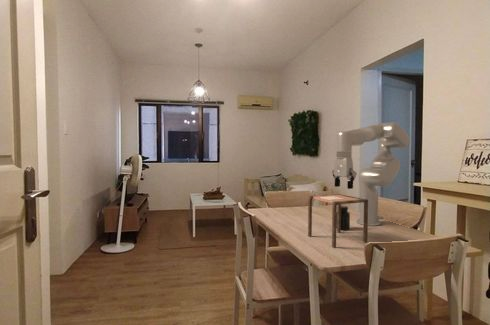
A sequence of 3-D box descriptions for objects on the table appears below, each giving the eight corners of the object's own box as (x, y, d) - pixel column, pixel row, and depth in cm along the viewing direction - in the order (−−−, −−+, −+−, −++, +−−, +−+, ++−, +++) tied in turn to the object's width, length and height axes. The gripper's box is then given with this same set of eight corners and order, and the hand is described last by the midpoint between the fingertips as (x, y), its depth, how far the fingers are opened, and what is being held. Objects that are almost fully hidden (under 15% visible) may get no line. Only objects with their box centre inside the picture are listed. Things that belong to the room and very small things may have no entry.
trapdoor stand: (338, 232, 150) (339, 194, 149) (367, 242, 133) (368, 199, 132) (308, 236, 143) (308, 196, 142) (333, 247, 126) (334, 202, 125)
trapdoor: (339, 196, 147) (339, 194, 147) (361, 201, 133) (361, 198, 133) (313, 198, 141) (313, 196, 141) (334, 203, 127) (334, 201, 127)
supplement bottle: (346, 227, 160) (347, 205, 159) (351, 230, 153) (352, 207, 153) (334, 227, 160) (334, 205, 159) (338, 230, 153) (339, 207, 152)
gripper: (327, 155, 161) (327, 186, 162) (350, 155, 145) (349, 189, 146) (338, 154, 164) (338, 185, 165) (361, 155, 148) (361, 189, 149)
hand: (343, 187), depth 155 cm, fingers open, 9 cm apart
